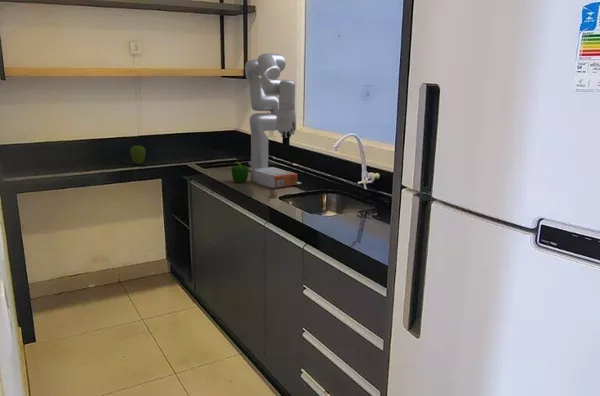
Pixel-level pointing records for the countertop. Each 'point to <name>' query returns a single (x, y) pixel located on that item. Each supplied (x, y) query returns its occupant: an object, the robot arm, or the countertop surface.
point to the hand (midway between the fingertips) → (285, 145)
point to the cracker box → (274, 177)
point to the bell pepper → (240, 173)
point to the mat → (273, 187)
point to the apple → (138, 154)
